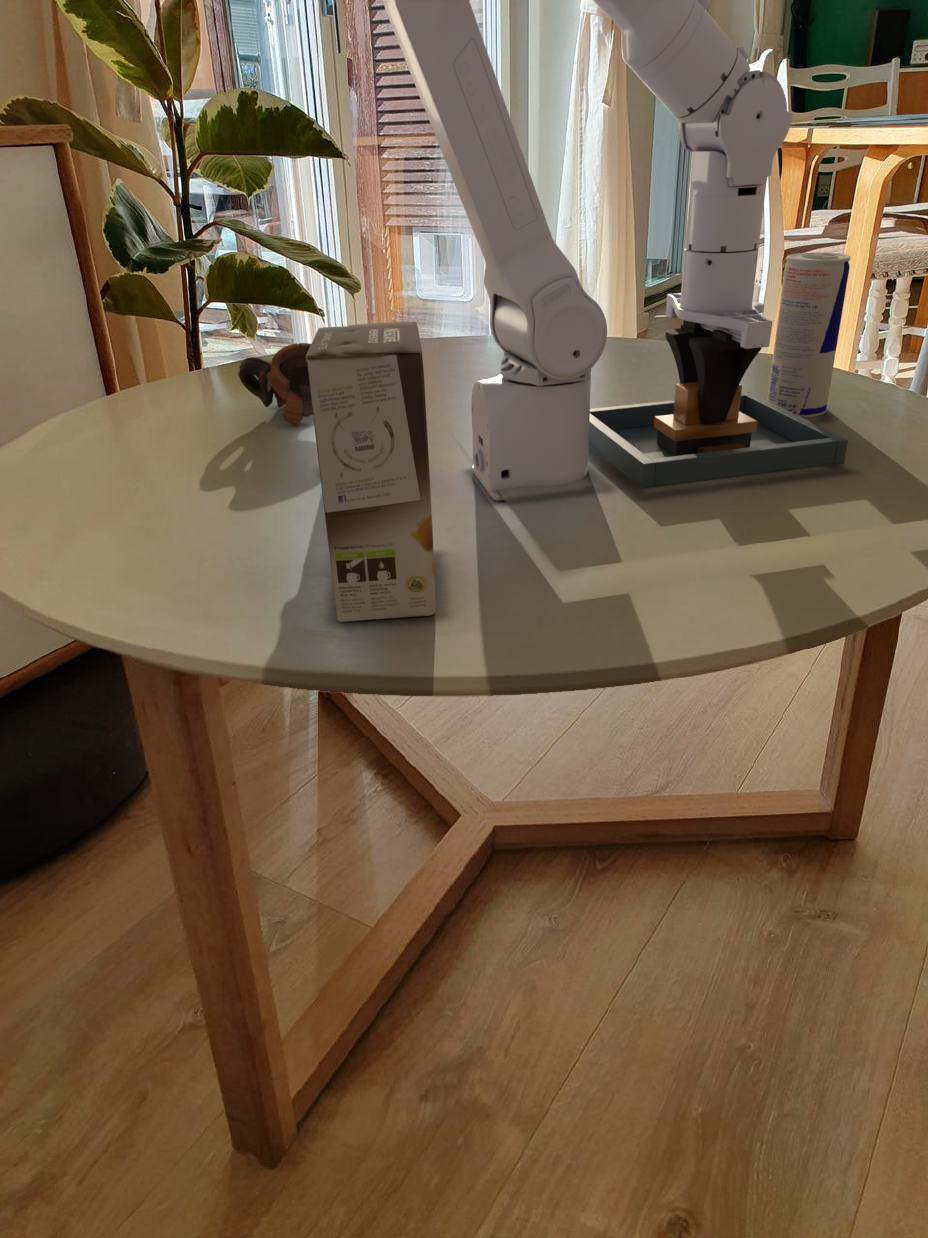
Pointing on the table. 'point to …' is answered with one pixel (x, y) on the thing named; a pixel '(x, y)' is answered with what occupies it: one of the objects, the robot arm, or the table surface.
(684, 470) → the tray
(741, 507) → the table surface
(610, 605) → the table surface
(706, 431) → the brush
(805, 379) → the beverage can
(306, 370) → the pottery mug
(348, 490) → the coffee box
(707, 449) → the mud patch
